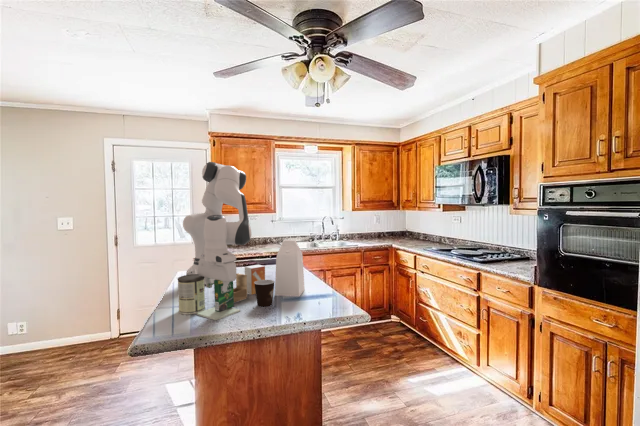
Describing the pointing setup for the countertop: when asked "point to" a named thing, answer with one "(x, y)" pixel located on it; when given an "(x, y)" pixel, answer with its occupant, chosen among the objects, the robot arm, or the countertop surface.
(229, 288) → the coffee box
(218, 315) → the sage green square tile
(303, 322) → the countertop surface
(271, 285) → the coffee mug
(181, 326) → the countertop surface
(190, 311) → the coffee can
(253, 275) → the small box
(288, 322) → the countertop surface
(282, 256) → the milk
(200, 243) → the robot arm
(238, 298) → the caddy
